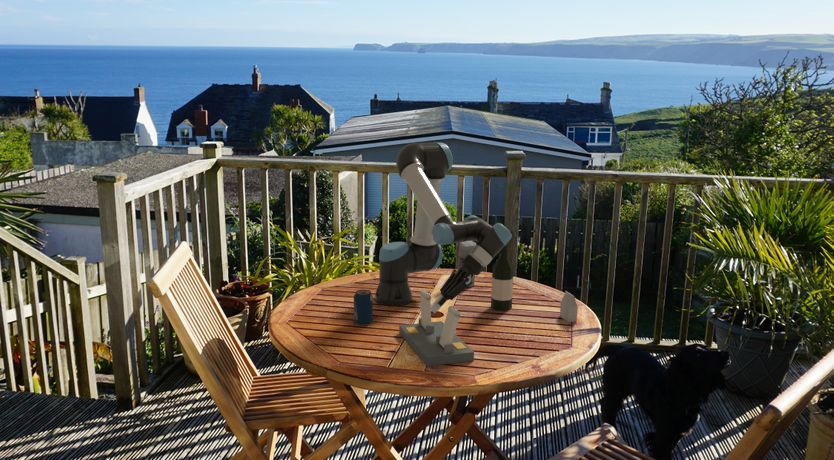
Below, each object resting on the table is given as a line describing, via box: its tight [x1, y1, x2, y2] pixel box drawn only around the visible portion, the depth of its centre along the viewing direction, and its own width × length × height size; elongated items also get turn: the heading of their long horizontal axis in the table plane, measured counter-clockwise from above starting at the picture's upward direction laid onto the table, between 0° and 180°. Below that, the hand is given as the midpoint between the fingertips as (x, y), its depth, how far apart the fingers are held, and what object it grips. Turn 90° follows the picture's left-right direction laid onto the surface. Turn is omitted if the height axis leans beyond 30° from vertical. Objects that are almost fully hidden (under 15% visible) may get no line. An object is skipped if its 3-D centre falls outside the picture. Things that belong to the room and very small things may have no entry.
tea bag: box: [559, 290, 579, 323], centre depth 259 cm, size 4×7×10 cm, turn 14°
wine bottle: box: [490, 240, 515, 312], centre depth 269 cm, size 8×8×30 cm
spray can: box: [456, 240, 477, 288], centre depth 299 cm, size 8×8×20 cm
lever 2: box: [439, 305, 461, 348], centre depth 221 cm, size 2×6×13 cm, turn 19°
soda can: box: [353, 289, 374, 326], centre depth 251 cm, size 7×7×12 cm
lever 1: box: [419, 289, 432, 329], centre depth 237 cm, size 2×6×13 cm, turn 18°
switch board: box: [398, 317, 475, 367], centre depth 230 cm, size 16×30×6 cm, turn 18°
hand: (431, 310), depth 237 cm, fingers closed
